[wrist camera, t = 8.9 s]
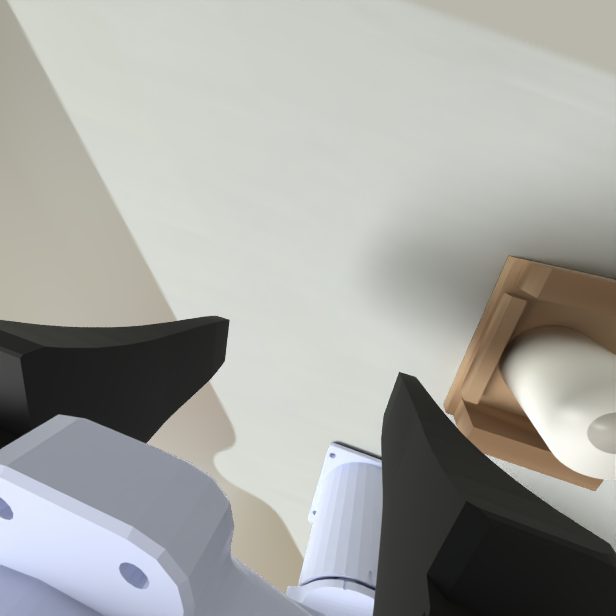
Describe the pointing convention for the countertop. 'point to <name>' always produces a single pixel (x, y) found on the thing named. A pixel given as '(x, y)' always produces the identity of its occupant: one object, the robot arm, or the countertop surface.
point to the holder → (494, 338)
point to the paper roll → (566, 395)
